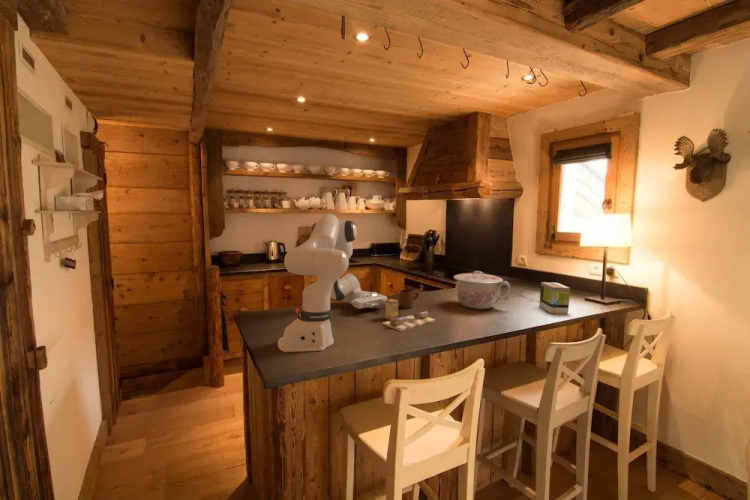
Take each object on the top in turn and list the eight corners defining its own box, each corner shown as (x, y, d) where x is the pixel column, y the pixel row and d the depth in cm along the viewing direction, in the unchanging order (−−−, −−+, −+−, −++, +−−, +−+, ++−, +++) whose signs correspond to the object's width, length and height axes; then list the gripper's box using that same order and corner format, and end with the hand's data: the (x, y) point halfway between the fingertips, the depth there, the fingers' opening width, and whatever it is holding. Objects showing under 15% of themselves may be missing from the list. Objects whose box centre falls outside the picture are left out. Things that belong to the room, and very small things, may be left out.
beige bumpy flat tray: (400, 331, 168) (400, 323, 168) (383, 324, 178) (383, 316, 177) (435, 321, 184) (435, 313, 184) (417, 315, 193) (417, 308, 193)
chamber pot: (442, 302, 220) (444, 268, 218) (479, 298, 232) (481, 266, 229) (473, 315, 195) (475, 276, 192) (513, 310, 206) (515, 273, 204)
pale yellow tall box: (391, 320, 184) (391, 301, 183) (385, 318, 187) (385, 299, 186) (397, 318, 187) (398, 300, 186) (391, 316, 190) (392, 298, 189)
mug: (414, 304, 216) (415, 288, 215) (421, 307, 209) (422, 291, 208) (396, 306, 211) (397, 289, 210) (402, 309, 204) (403, 292, 203)
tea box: (568, 314, 202) (571, 287, 200) (550, 313, 202) (552, 287, 200) (556, 306, 216) (558, 281, 215) (538, 306, 217) (540, 281, 215)
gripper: (347, 296, 196) (364, 301, 186) (377, 291, 210) (394, 296, 199) (347, 307, 197) (364, 313, 187) (376, 302, 210) (393, 307, 200)
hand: (379, 304), depth 193 cm, fingers open, 8 cm apart
